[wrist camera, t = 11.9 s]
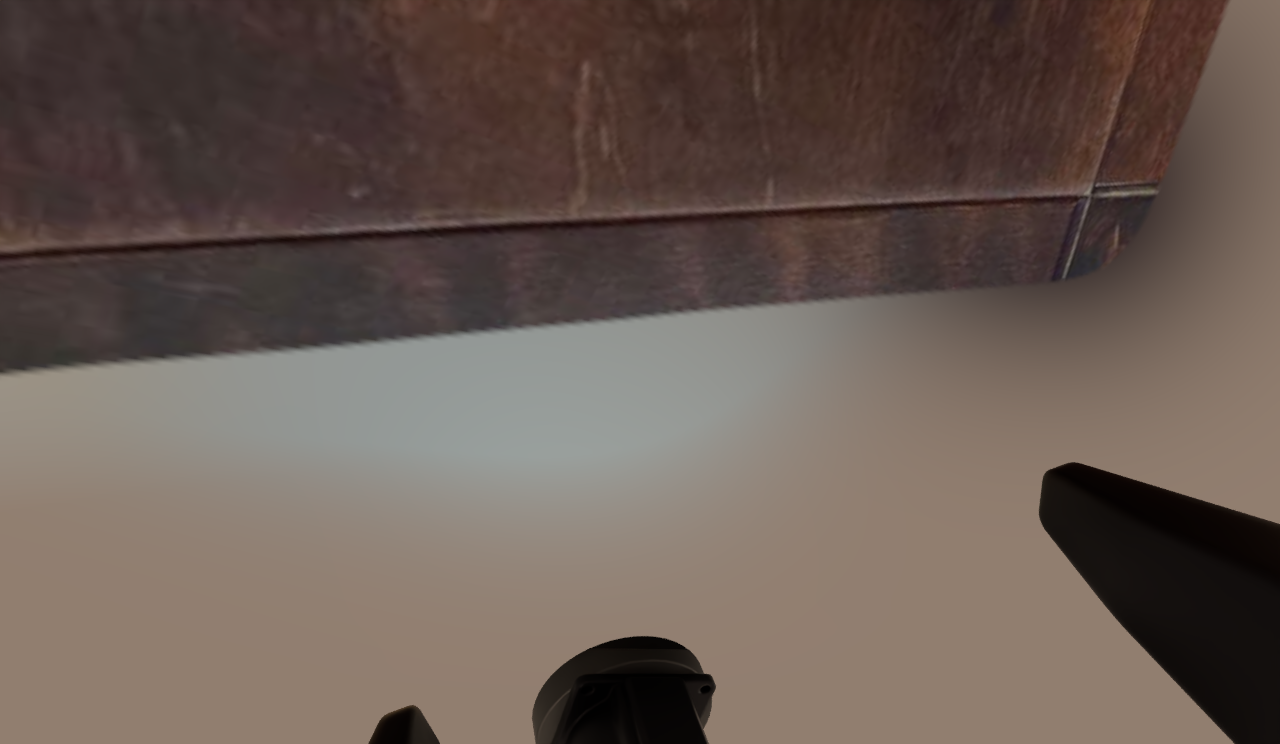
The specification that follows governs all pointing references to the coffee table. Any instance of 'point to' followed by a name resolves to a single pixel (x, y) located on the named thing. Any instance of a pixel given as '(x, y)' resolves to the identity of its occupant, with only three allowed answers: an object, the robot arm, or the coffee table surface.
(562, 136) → the coffee table surface
